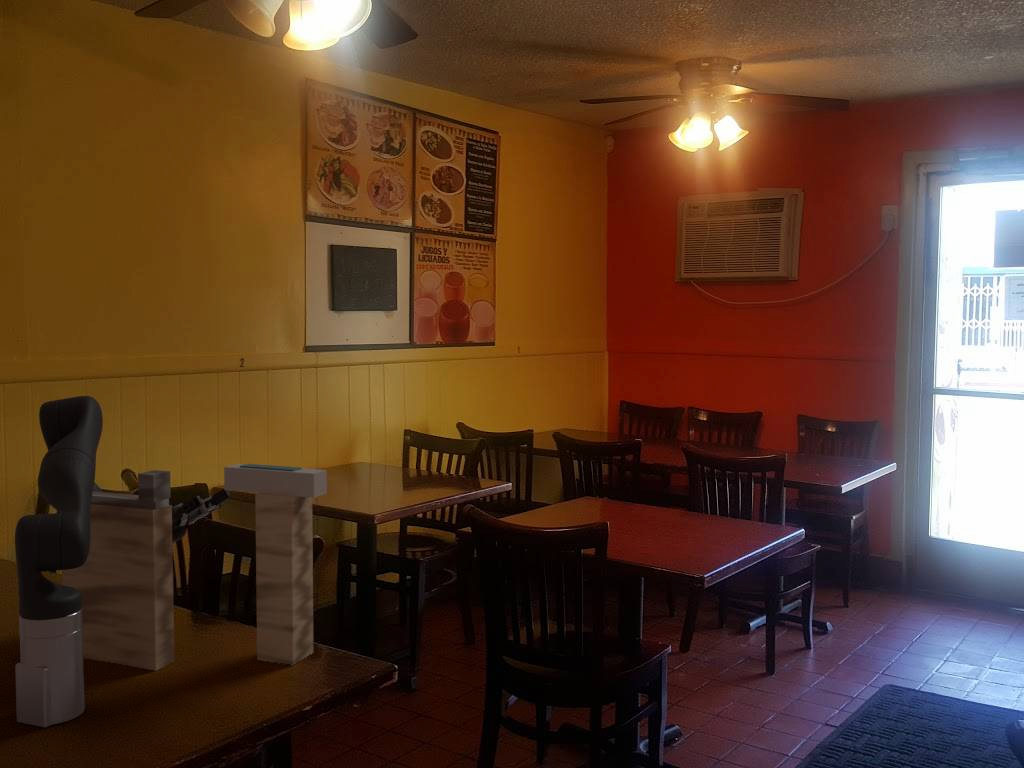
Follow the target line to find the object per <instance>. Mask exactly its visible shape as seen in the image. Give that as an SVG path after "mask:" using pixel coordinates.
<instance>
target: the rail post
mask: <svg viewBox="0 0 1024 768" xmlns="http://www.w3.org/2000/svg"><path fill="white" fill-rule="evenodd" d="M137 493H138V494H129V493H128V494H126V493H117V492H116V493H114V492H105V491H103V492H95V491H93V493H92V499H91V509H90V528H91V537H90V550H89V554H88V558H87V560H86V561H85V563H84V564H83V565H82V566H80V567H78V568H74V569H69V570H61V578H62V579H61V581H62V582H61V585H64V586H69V587H72V588H75V589H77V590H78V591H80V593H81V595H82V621H83V660H84V659H85V660H90V659H91V661H96V660H97V662H102V661H105V662H104V663H108V662H110V663H109V664H113V663H117V664H116V665H119V664H122V665H121V666H125V665H128V666H127V667H131V666H132V667H133V668H137V667H138V668H140V669H143V668H144V669H145V670H150V671H158V670H160V669H162V668H165V667H166V666H169V665H170V663H171V664H172V663H174V662H175V619H174V618H175V616H174V614H175V613H174V608H175V607H174V566H173V564H174V563H173V560H174V557H173V556H174V555H173V551H174V550H173V548H174V547H173V544H172V506H173V505H171V504H170V499H171V496H172V495H171V494H172V491H171V471H170V470H157V469H155V470H148V471H144V472H143V471H142V472H140V473H138V474H137Z"/></svg>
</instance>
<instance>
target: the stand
mask: <svg viewBox="0 0 1024 768" xmlns="http://www.w3.org/2000/svg"><path fill="white" fill-rule="evenodd" d="M254 494H255V495H254V498H255V502H254V503H255V504H254V505H255V563H256V564H255V566H256V567H255V574H256V576H255V581H256V590H255V591H256V656H257V657H256V660H257V661H261V660H262V662H267V661H269V663H274V662H278V663H277V664H280V663H284V664H283V665H286V664H290V665H289V666H295V665H296V663H297V662H298V663H300V662H302V661H303V660H305V659H306V658H308V657H309V655H310V654H311V655H313V654H314V561H313V560H314V558H313V557H314V555H313V554H314V552H313V550H314V548H313V547H314V545H313V544H314V543H313V533H314V532H313V530H314V529H313V528H314V527H313V498H311V497H299V496H287V495H276V494H264V493H254ZM312 653H313V654H312ZM311 655H310V656H311ZM307 656H308V657H307ZM304 658H305V659H304ZM302 659H303V660H302ZM299 661H300V662H299ZM298 663H297V664H298ZM294 664H295V665H294Z"/></svg>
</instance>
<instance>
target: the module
mask: <svg viewBox="0 0 1024 768" xmlns="http://www.w3.org/2000/svg"><path fill="white" fill-rule="evenodd" d="M327 471H328V470H327V469H316V468H305V467H304V468H302V467H301V466H300V467H299V466H284V465H283V466H282V465H273V464H272V465H270V464H255V463H246V464H245V463H237V464H232V465H228V466H227V465H226V466H224V467H223V472H224V473H223V479H224V480H223V481H224V483H223V484H224V488H223V489H224V490H228V491H231V492H232V491H233V492H241V493H254V494H258V493H264V494H276V495H287V496H299V497H311V498H312V499H313V498H314V499H315V498H318V497H320V496H325V495H327V494H328V491H327V490H328V487H327V486H328V480H327V479H328V475H327V473H328V472H327Z"/></svg>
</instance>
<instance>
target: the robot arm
mask: <svg viewBox="0 0 1024 768" xmlns="http://www.w3.org/2000/svg"><path fill="white" fill-rule="evenodd" d="M38 413H39V414H38V417H39V419H38V421H39V426H40V430H41V434H42V438H43V441H44V443H45V445H46V449H47V452H46V453H45V454H44V456H43V458H42V460H41V462H40V466H39V467H40V468H39V471H38V477H37V487H38V492H39V493H40V495H41V497H42V498H43V499H44V500H45V501H46V503H47V504H49V505H50V506H51V507H52V508H53V509H55V510H56V511H57V513H56V512H53V513H42V514H41V513H39V514H38V513H37V514H27V515H23V516H21V517H20V519H19V520H18V521H17V524H16V527H15V531H14V548H15V550H14V552H15V561H16V568H17V570H16V571H17V580H18V581H17V582H18V583H17V584H18V586H17V587H18V611H19V612H18V614H19V615H18V619H19V648H20V649H19V651H20V652H19V654H20V662H18V663H16V664H15V668H14V670H15V700H16V701H15V702H16V704H15V705H16V706H15V707H16V722H17V723H21V724H26V725H30V726H35V727H40V728H47V727H50V726H52V725H57V724H61V723H64V722H68V721H71V720H73V719H75V718H77V717H79V716H80V715H82V714H83V713H84V712H85V706H86V705H85V675H84V671H85V670H84V669H85V668H84V658H83V621H82V595H81V593H80V591H78V590H77V589H75V588H72V587H69V586H64V585H62V583H61V584H60V583H57V582H55V581H52V580H50V579H48V578H47V577H45V576H44V575H43V574H42V573H43V572H51V571H52V572H55V571H62V570H69V569H74V568H78V567H80V566H82V565H83V564H84V563H85V561H86V560H87V558H88V554H89V550H90V537H91V528H90V509H91V499H92V493H93V491H95V492H104V491H103V490H102V489H101V487H100V486H99V485H98V484H97V483H96V482H95V480H96V479H95V477H96V472H97V471H96V466H97V465H96V464H97V463H96V461H97V451H98V448H99V444H100V440H101V438H102V437H101V436H102V432H103V427H104V426H103V424H104V419H103V417H104V416H103V411H102V407H101V406H100V403H99V401H98V400H97V399H96V398H94V397H93V396H90V395H78V396H72V397H67V398H61V399H54V400H50V401H49V400H48V401H45V402H43V403H42V404H41V406H40V408H39V412H38ZM229 499H231V494H230V492H229V491H228V490H224V488H223V489H220V490H219V491H218V492H215V493H214V494H213V495H210V496H209V497H208V496H207V498H205V499H203V498H201V497H200V495H196V496H193V497H191V498H190V499H188V500H186V501H185V502H183V503H182V502H181V503H179V504H177V505H174V506H173V505H172V545H173V544H174V543H176V542H179V540H181V539H182V538H184V537H185V536H186V534H187V533H188V525H191V524H194V523H195V522H197V520H199V519H203V518H205V517H207V516H208V515H210V514H211V513H213V512H214V511H216V510H218V509H220V508H222V507H223V503H225V502H226V501H228V500H229Z"/></svg>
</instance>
